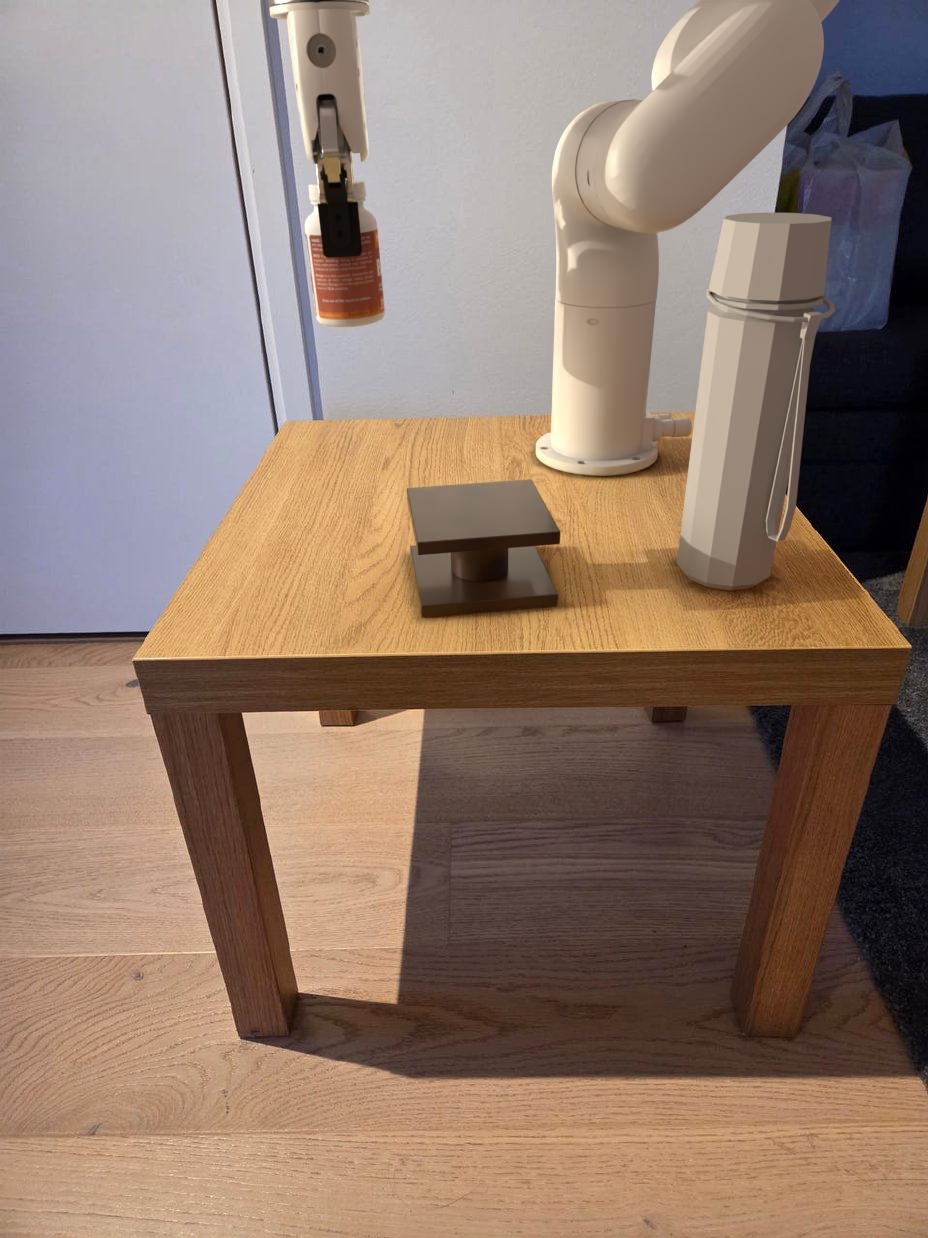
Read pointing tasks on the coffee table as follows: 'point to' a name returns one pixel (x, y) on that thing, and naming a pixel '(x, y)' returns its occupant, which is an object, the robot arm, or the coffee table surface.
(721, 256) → the water bottle
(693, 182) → the robot arm
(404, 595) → the coffee table surface
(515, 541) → the stand
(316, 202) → the pill bottle
